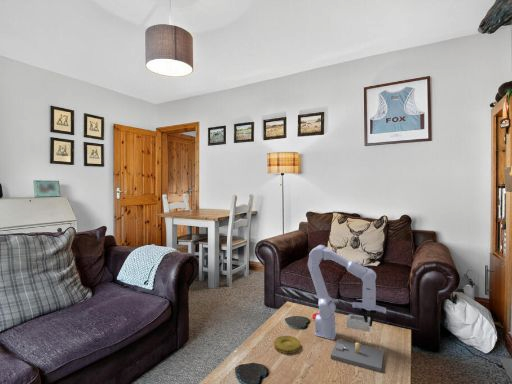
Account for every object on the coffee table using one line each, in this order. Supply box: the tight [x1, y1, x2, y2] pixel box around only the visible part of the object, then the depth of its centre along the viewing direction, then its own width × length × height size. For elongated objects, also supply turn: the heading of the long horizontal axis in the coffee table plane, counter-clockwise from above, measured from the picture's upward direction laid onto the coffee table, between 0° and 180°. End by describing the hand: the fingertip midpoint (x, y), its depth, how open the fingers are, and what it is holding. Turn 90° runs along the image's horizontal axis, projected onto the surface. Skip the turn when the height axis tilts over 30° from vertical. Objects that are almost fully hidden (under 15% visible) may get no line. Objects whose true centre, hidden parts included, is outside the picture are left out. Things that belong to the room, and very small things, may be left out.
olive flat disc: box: [273, 335, 301, 355], centre depth 133 cm, size 12×12×2 cm
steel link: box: [346, 313, 372, 332], centre depth 135 cm, size 10×6×4 cm, turn 62°
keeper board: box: [330, 338, 385, 373], centre depth 125 cm, size 20×14×6 cm
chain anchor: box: [336, 343, 348, 351], centre depth 128 cm, size 5×4×1 cm
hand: (368, 325), depth 133 cm, fingers closed on steel link
